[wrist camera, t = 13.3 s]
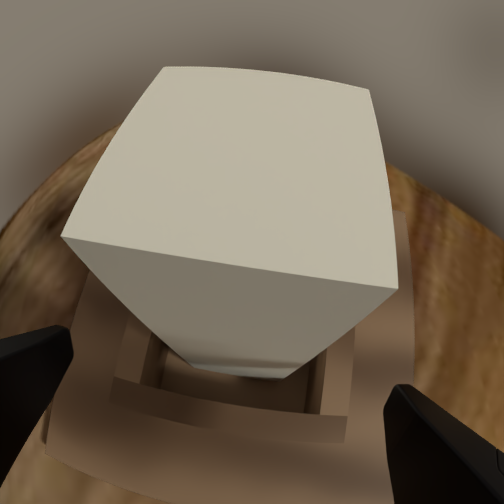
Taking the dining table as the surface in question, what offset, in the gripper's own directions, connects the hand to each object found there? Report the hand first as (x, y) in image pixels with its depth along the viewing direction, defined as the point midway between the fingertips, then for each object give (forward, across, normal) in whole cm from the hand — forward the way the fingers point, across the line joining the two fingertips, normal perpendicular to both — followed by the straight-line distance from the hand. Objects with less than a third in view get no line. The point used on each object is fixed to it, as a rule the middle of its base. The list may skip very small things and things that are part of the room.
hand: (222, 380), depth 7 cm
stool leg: (+8, 0, +4) cm, 9 cm away
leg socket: (+9, 0, +4) cm, 10 cm away
